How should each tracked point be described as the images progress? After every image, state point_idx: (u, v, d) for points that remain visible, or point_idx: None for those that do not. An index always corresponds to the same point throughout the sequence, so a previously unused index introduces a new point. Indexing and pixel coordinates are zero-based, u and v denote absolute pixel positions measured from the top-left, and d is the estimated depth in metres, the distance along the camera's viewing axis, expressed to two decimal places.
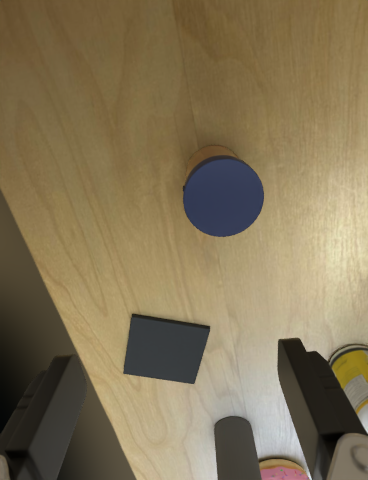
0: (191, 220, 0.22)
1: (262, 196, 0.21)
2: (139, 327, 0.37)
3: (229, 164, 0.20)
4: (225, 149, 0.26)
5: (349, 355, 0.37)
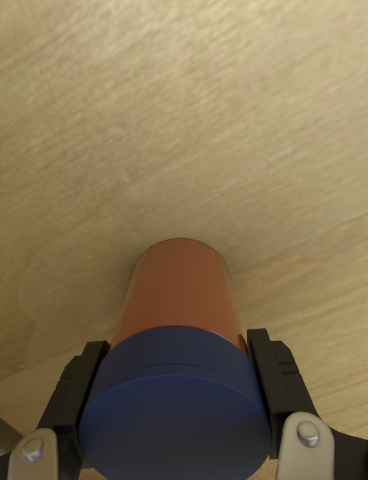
0: (243, 478, 0.10)
1: (132, 384, 0.08)
2: None
3: (93, 454, 0.09)
4: None
5: None
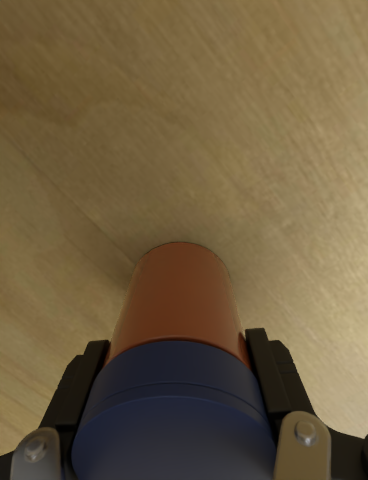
0: None
1: (128, 405, 0.07)
2: None
3: (88, 477, 0.09)
4: (166, 264, 0.13)
5: None
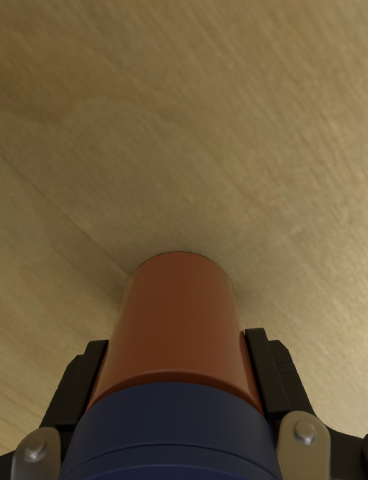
0: None
1: None
2: None
3: None
4: (163, 278, 0.12)
5: None
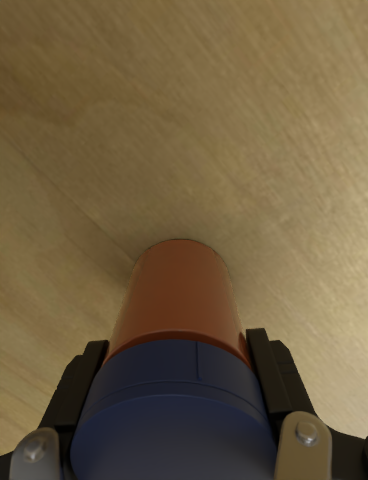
0: (113, 409, 0.07)
1: None
2: None
3: (262, 476, 0.08)
4: (165, 261, 0.14)
5: None
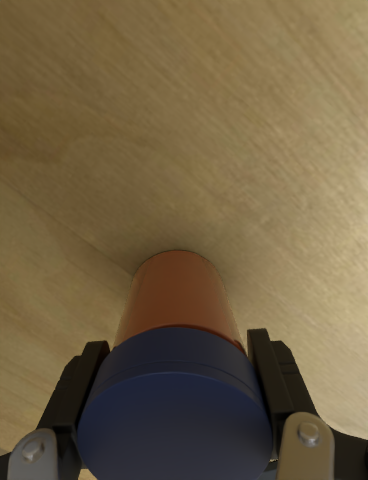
0: None
1: (205, 379, 0.08)
2: None
3: (95, 416, 0.08)
4: (157, 271, 0.15)
5: None
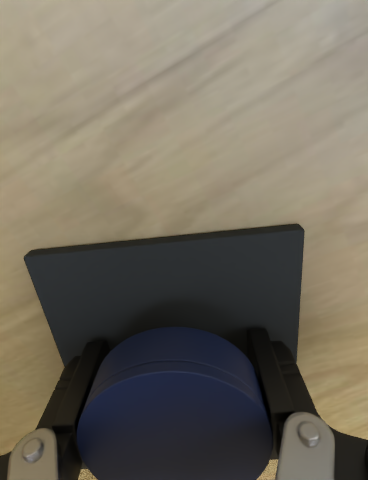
0: None
1: (205, 378, 0.08)
2: None
3: (94, 416, 0.08)
4: None
5: None
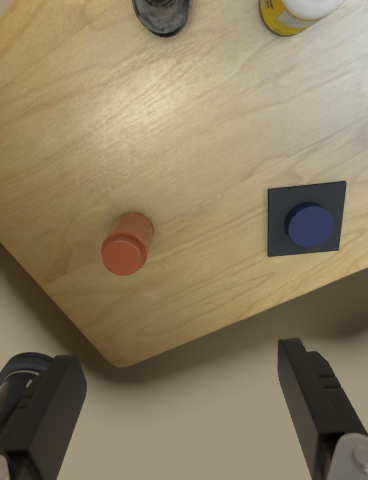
0: (311, 246, 0.40)
1: (321, 208, 0.38)
2: (279, 248, 0.42)
3: (295, 218, 0.38)
4: None
5: (269, 25, 0.30)
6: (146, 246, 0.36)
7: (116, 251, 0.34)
